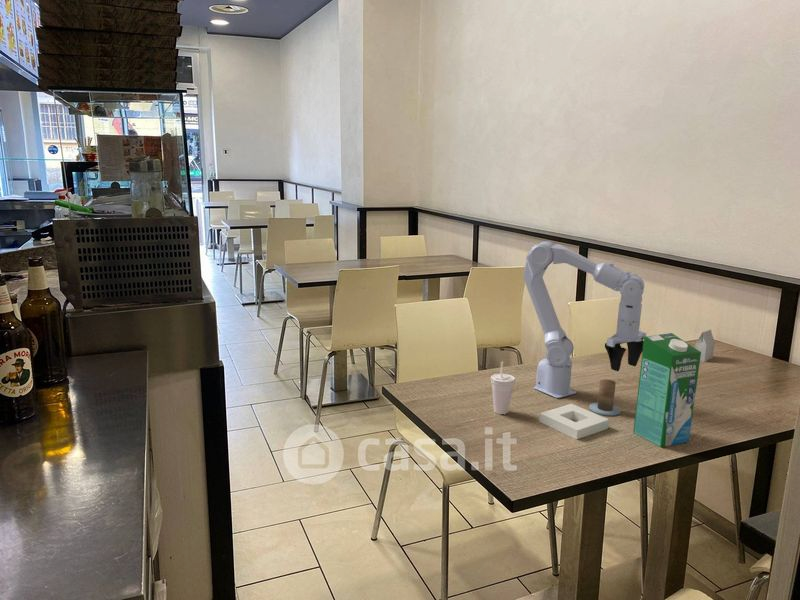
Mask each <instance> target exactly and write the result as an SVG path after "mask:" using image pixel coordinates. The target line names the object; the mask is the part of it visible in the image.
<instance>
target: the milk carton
mask: <svg viewBox="0 0 800 600" xmlns="http://www.w3.org/2000/svg"><path fill="white" fill-rule="evenodd" d="M643 341H644V343H643V351H642V353H641V363H640V372H639V377H638V378H639V379H638V386H637V387H638V389H637V397H636V405H635V414H634V415H635V416H634V425H633V431H632V432H633V433H634V434H636V435H637V436H639V437H641V438H643V439H645V440H647V441H649V442H651V443H652V444H654V445H656V446H658V447H660V448H665V447H670V446H674V445H678V444H684V443H687V442H689V441H690V435H691V429H692V422H693V415H694V407H695V398H696V392H697V387H698V386H697V385H698V378H699V377H698V376H699V370H700V363H701V361H700V357H701V352H700V351H699V350H697V349H696V348H695V346H692V345H691V344H689V343H688V342H687V341H684V339H681V338H680V337H678V336H677V335H676V334H674V333H673V332H670V333H669V332H668V333H663V334H654V335H653V334H651V335H646V336H644V340H643Z"/></svg>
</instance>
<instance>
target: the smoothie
mask: <svg viewBox="0 0 800 600" xmlns="http://www.w3.org/2000/svg"><path fill="white" fill-rule="evenodd" d="M503 370H504V361H500V371H499V372H500V373H494V374H492V375H491V376H490V382H491V386H492V387H491V389H492V390H491V391H492V401H493V413H495V412H496V413H498V414H497V415H500V414H504V415H507V414H508V413H509V409H510V404H511V399H512V394H513V388H514V384H515V383H516V378H515V377H514V376H513V375H511V374H508V373H504V371H503ZM496 413H495V414H496ZM506 413H507V414H506Z"/></svg>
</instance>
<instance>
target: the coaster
mask: <svg viewBox="0 0 800 600" xmlns="http://www.w3.org/2000/svg"><path fill="white" fill-rule="evenodd" d="M597 405H598V401H597V402H591V403H590V404H589V407H588V409H589V411H590V412H593V413H595V414H597V415H600V416H602V417H604V416H605V417H615V416H618V415H620V414H621V408H620V407H619V406H617V405H615V404H613V410H612V411H603V410H600V409H598V408H597Z"/></svg>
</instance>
